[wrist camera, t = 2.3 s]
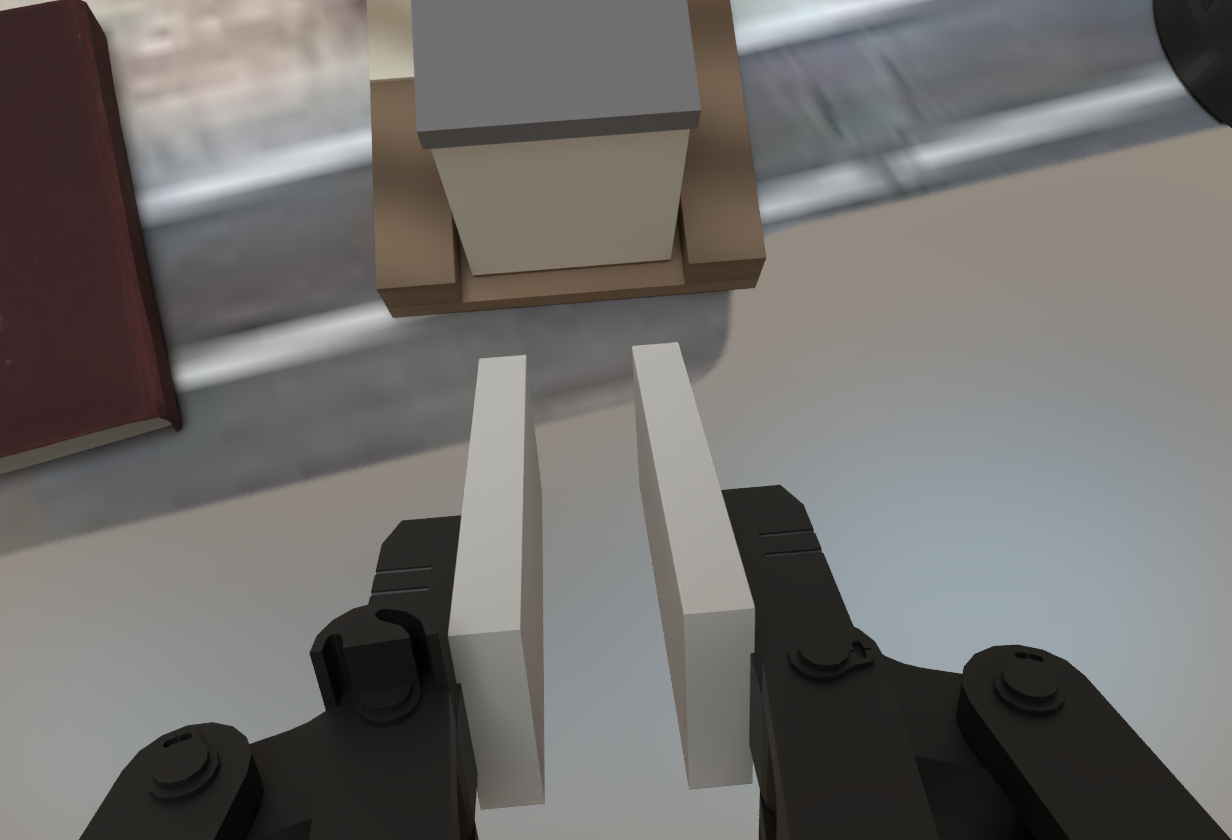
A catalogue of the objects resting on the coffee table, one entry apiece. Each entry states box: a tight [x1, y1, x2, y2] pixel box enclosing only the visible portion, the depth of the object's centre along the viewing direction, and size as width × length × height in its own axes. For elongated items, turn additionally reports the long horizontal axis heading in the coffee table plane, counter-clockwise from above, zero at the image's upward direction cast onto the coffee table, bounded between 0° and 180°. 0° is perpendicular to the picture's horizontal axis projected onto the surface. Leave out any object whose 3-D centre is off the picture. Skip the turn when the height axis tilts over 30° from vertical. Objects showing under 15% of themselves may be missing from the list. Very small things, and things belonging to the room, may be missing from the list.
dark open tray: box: [367, 0, 766, 317], centre depth 41 cm, size 21×15×6 cm
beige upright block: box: [411, 0, 701, 275], centre depth 35 cm, size 6×8×11 cm
